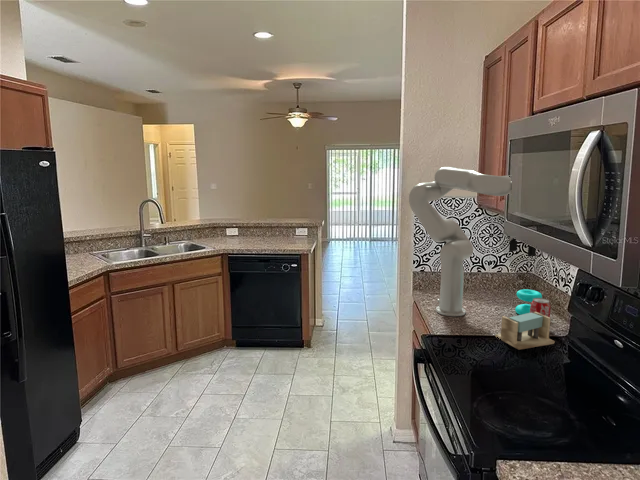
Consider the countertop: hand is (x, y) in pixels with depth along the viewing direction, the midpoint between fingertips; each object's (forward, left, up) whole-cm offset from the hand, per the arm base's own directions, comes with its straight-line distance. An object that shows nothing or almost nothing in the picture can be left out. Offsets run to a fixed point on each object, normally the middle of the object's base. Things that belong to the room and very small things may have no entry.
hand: (521, 253), depth 170 cm
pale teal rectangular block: (+11, -6, -25) cm, 28 cm away
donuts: (-11, +16, -31) cm, 36 cm away
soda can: (+4, +7, -31) cm, 32 cm away
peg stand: (+11, -6, -30) cm, 33 cm away
